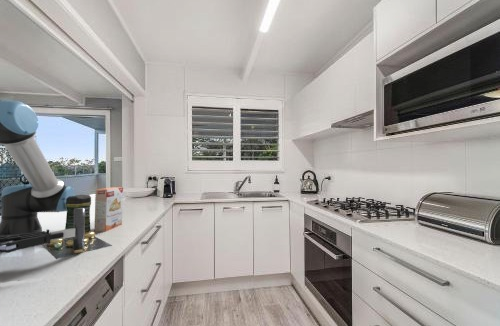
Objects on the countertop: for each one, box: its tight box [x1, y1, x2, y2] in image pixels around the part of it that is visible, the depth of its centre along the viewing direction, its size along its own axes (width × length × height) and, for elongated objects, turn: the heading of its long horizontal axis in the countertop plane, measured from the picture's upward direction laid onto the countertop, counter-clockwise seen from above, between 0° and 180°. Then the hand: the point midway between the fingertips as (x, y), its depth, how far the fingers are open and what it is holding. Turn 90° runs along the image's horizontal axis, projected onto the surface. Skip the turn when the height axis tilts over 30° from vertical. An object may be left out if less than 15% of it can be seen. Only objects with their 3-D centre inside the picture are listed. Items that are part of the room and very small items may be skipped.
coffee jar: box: [64, 194, 92, 232], centre depth 106 cm, size 10×8×19 cm
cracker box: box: [93, 186, 124, 233], centre depth 117 cm, size 14×6×21 cm, turn 179°
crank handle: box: [66, 208, 89, 254], centre depth 87 cm, size 17×7×16 cm, turn 38°
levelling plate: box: [41, 230, 113, 260], centre depth 90 cm, size 22×17×3 cm
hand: (74, 232), depth 80 cm, fingers closed
